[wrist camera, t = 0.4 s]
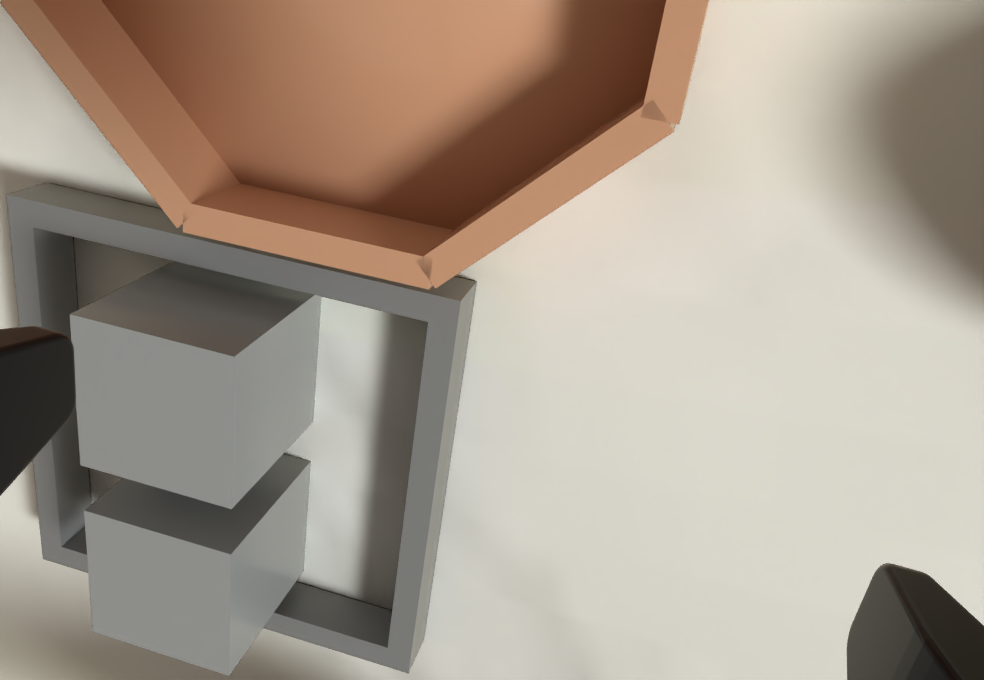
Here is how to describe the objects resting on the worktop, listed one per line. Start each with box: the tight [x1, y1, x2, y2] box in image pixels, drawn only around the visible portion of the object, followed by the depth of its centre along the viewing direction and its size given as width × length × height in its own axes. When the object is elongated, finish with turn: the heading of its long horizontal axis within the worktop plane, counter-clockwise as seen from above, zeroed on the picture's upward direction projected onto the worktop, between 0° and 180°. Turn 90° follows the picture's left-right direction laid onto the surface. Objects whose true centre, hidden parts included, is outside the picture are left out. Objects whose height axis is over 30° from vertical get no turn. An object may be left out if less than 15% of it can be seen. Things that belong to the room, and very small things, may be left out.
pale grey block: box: [84, 454, 311, 676], centre depth 26 cm, size 4×4×5 cm
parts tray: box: [6, 183, 477, 673], centre depth 26 cm, size 13×14×2 cm
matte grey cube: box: [70, 261, 321, 509], centre depth 24 cm, size 4×4×5 cm
